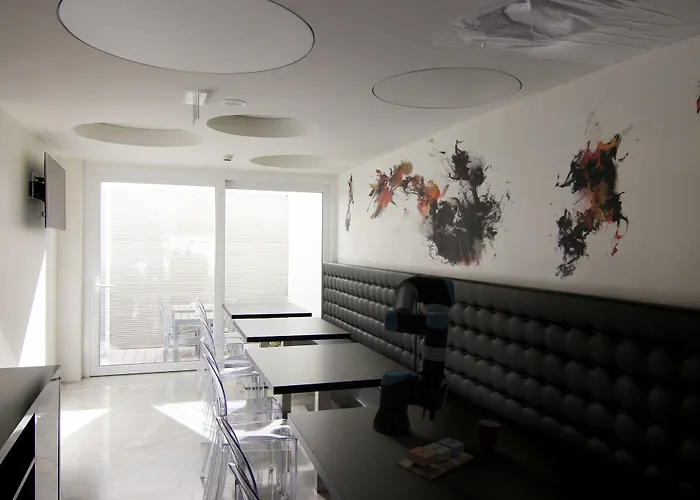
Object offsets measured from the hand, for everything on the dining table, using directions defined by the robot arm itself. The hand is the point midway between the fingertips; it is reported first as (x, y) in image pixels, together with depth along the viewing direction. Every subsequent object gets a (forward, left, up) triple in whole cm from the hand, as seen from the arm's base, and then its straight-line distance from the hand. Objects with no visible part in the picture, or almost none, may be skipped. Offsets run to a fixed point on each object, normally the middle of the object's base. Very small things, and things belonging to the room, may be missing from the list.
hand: (427, 429), depth 167 cm
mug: (+6, +33, -13) cm, 36 cm away
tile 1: (0, -1, -10) cm, 10 cm away
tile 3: (0, +17, -11) cm, 20 cm away
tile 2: (0, +8, -11) cm, 14 cm away
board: (0, +8, -13) cm, 15 cm away
